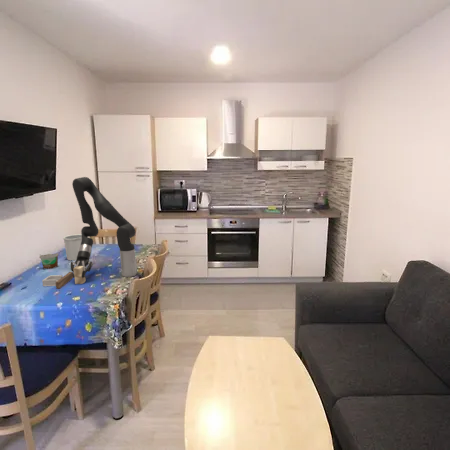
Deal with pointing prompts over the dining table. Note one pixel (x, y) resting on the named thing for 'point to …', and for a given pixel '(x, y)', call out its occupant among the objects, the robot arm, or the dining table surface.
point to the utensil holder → (72, 245)
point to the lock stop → (78, 275)
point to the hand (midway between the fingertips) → (78, 277)
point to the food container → (49, 261)
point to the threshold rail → (64, 280)
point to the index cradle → (51, 280)
